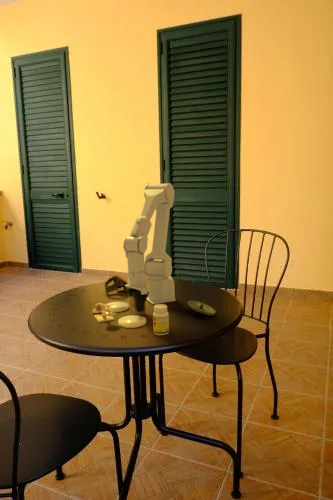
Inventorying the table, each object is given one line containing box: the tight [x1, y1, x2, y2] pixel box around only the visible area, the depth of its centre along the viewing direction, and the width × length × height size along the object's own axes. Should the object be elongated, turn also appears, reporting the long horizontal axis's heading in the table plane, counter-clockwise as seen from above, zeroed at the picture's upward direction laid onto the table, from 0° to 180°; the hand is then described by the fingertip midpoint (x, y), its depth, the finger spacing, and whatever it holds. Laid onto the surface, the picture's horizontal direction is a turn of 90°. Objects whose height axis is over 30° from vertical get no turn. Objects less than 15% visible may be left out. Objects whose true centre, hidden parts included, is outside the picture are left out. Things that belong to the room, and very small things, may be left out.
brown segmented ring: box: [104, 275, 130, 295], centre depth 167 cm, size 12×10×8 cm
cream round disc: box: [117, 314, 147, 329], centre depth 132 cm, size 9×9×1 cm
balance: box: [92, 302, 117, 323], centre depth 136 cm, size 5×17×6 cm, turn 24°
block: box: [129, 296, 146, 316], centre depth 141 cm, size 4×4×6 cm
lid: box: [187, 299, 217, 316], centre depth 139 cm, size 11×10×5 cm
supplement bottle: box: [152, 303, 170, 336], centre depth 122 cm, size 5×5×8 cm
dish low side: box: [105, 301, 130, 313], centre depth 147 cm, size 9×9×1 cm
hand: (137, 309), depth 141 cm, fingers closed on block, 4 cm apart
